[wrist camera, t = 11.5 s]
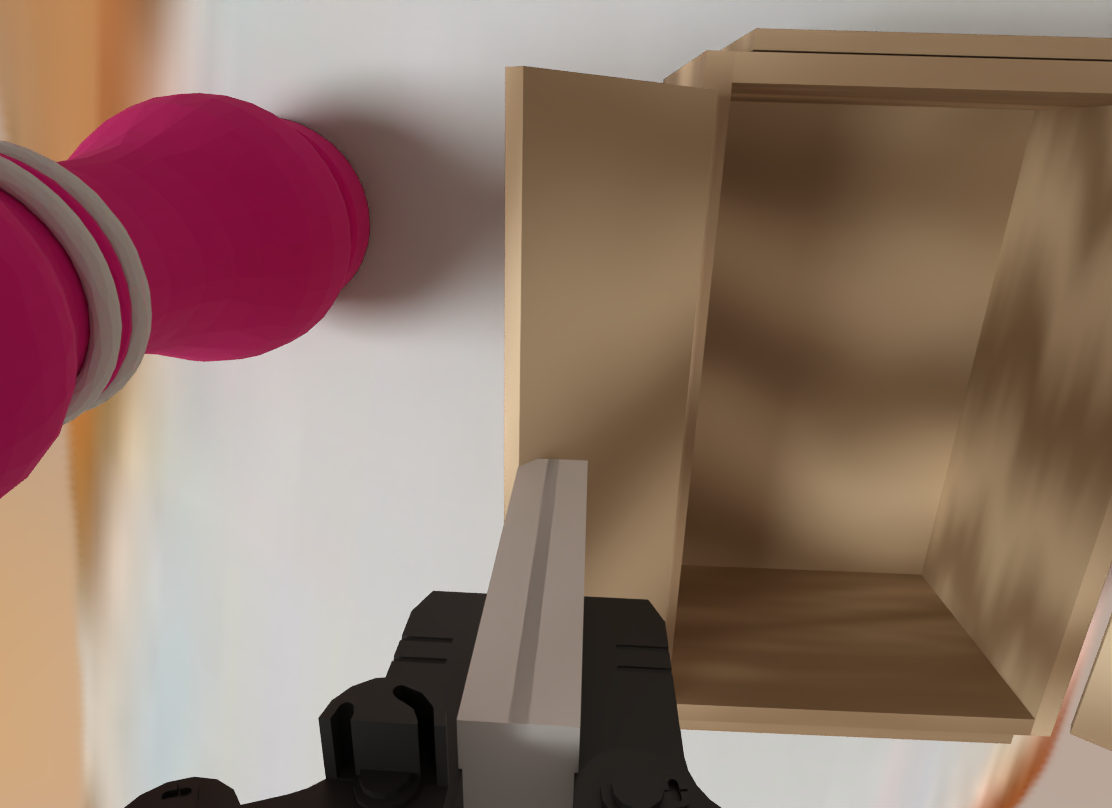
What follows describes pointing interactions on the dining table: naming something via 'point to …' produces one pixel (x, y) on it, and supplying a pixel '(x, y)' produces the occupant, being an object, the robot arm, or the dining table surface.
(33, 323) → the pepper mill
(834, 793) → the dining table surface
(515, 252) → the flap left
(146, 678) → the dining table surface
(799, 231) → the carton
